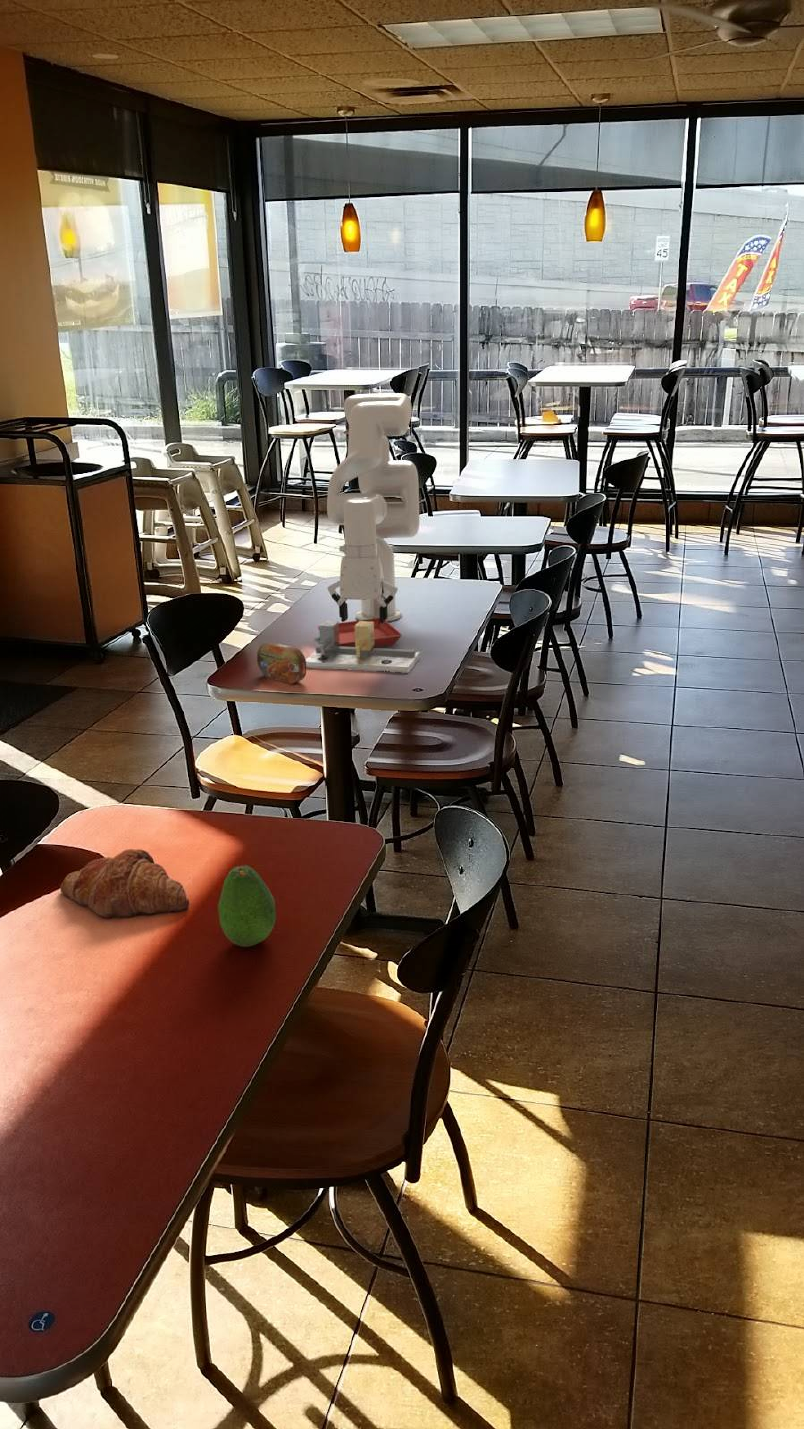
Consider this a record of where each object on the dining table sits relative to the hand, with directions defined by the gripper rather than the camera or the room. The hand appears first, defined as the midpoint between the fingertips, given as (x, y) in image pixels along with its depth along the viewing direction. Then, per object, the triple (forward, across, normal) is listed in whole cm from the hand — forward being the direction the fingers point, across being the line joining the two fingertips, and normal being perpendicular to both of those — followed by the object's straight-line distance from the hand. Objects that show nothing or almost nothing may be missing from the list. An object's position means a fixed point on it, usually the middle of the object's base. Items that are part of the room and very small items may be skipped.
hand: (363, 621), depth 277 cm
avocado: (+13, +20, -128) cm, 130 cm away
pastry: (+13, -3, -120) cm, 121 cm away
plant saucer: (+10, -6, +16) cm, 20 cm away
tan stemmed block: (+8, 0, -1) cm, 8 cm away
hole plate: (+10, 0, -2) cm, 10 cm away
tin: (+10, -15, -17) cm, 25 cm away
